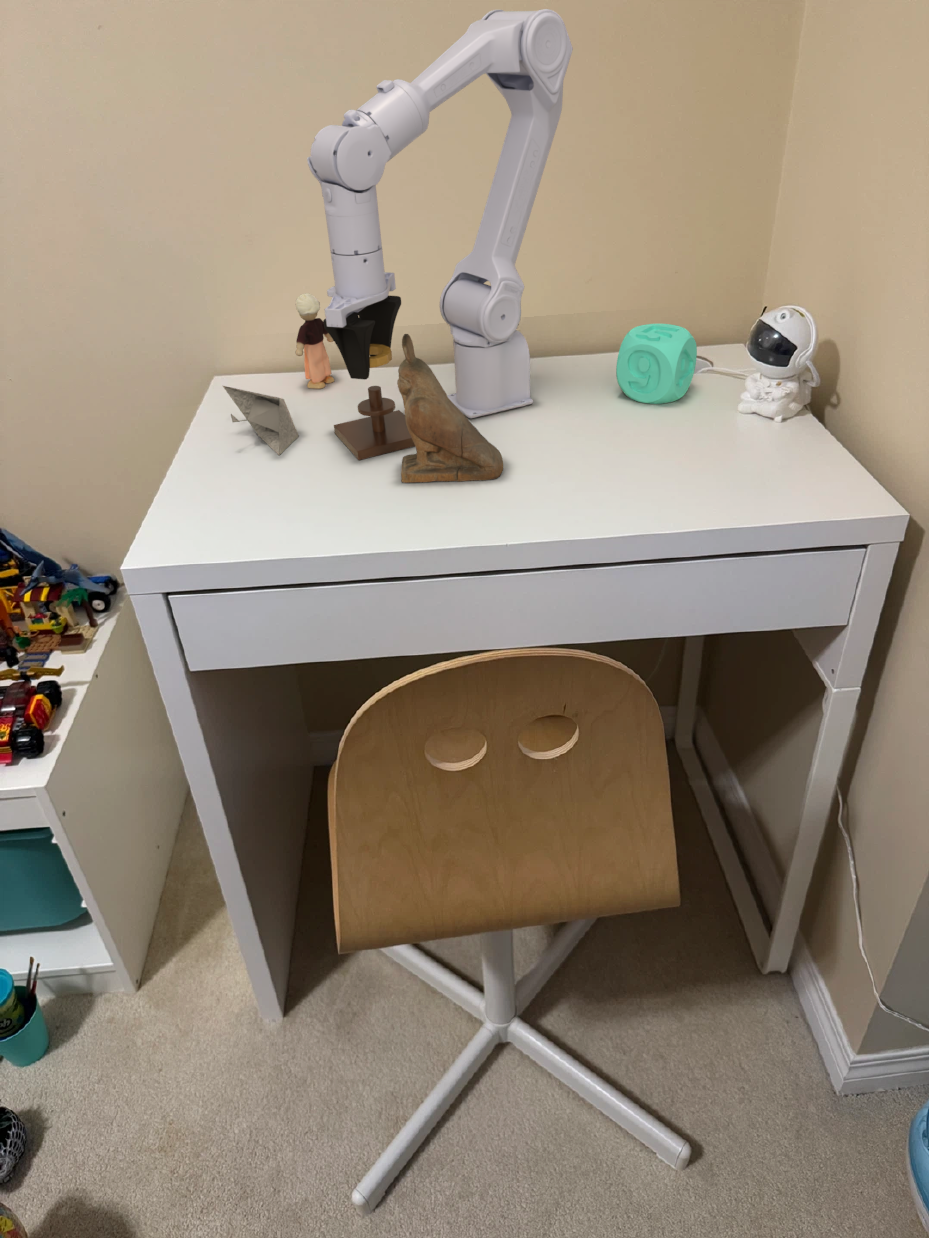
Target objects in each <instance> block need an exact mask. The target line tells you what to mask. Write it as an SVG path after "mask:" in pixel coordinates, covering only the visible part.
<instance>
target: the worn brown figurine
mask: <svg viewBox="0 0 929 1238" xmlns="http://www.w3.org/2000/svg"><path fill="white" fill-rule="evenodd" d="M401 348H402V352H403V355H404V359H403V360H402V362H401V363H400V364H399V366H398V370H397V372H398V379H397V382H396V384H397V388H398V391H399V394H400V395H401V398H402V403H403V408H404V411H403V414H404V415H405V421H406V425H407V429H408V431H409V433H410V435H411V437H412V440H413V442H414V444H415V446H414V447H415V450H416V451H415V452H416V453H413V454H412V453H411V454H406V455H404V456H402V460H401V469H400V470H401V471H400V477H401V479H400V480H401V483H406V484H408V483H409V484H410V483H423V484H424V483H432V482H444V483H445V482H448V483H449V482H457V483H459V482H468V481H470V482H471V481H473V482H475V481H488V480H496V479H498V478H500V476H501V475H502V474H503V471H504V459H503V456H502V453H501V452H500V450H499V449H498V448H497V447H496V446H495V445H494V444H492V443H491V442H489V441H488V439H487V438H486V437H485V436H484V435H482V433H481V432H480V431H479V430H478V429H477V428H476V427H475V426H474V424H472V422H471V420H469V418H468V417H467V416H466V415H464V414H463V413H462V412H461V411H460V410H459V409H458V408H457V407H456V406H455V405H454V404H453V403H452V401H451V400H450V399H449V398H448V397H447V395H448V394H447V392H446V391H445V389H444V388H443V386H442V385H441V383H440V381H439V379H438V378H437V376H436V375H435V373H434V371H433V370H432V368H431V367H430V366H429V364H427V362H425V360H423V359H421V358H419V357H416V353H415V349H414V348H415V347H414V344H413V340H412V338H411V336H410V335H409V333H404V334H403V336H402V338H401Z"/></svg>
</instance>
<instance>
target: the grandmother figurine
mask: <svg viewBox="0 0 929 1238" xmlns="http://www.w3.org/2000/svg"><path fill="white" fill-rule="evenodd" d="M295 309H296V310H297V312H298V315H299V317H300V318H301V319H302V320H304V323H303V324H302V325H301V326H300V327H299V329H298V332H297V337H296V349H295V355H296V356H297V357H302V356H303V355H304V359H303V360H304V377H305V379H306V380H309V381H308V382H307V384H306V387H307V389H314V390H315V389H316V390H321V389H324V388H326V386H327V384H331V383H334V382H335V378H334V377H333V376H332V373H333V372H332V368H331V362H330V357H329V355H328V353H327V349H326V346H325V343H324V337H325V339H326V341H327V342H328V343H333V342H334V340H333V339H332V337H331V336H330V335H329V333H328V332H327V331H326V330H325V328H324V322H323V319H322V318H320V317H317V316H318V314H319V313H318V312H320V309H321V303H320V301H319V298H317V297H316V296H314V295H313V294H312V293H309V292H308V293H302V294H300V295H299V296H298V297H297V298H296V300H295Z"/></svg>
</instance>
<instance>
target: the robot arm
mask: <svg viewBox="0 0 929 1238" xmlns="http://www.w3.org/2000/svg"><path fill="white" fill-rule="evenodd" d="M573 50H574V48H573V45H572V41H571V39H570V36H569V32H568V30H567V27H566V24H565V21H564V20H563V17H562V16H560V14H559V13H558V12H556V11H555V10H553V9H550V8H544V9H538V10H509V11H508V10H503V9H492V10H490V11H488V12H486V13H485V14H484V15H483V16H482V18H481V19H478V20H476V21H473V22H472V23H470V25H469V26H468V28H467V29H466V32H465V33H464V34H463V35H461V36H460V37H459V39H457V40H456V41H455V42H454V43H452V44H451V46H449V47H448V48H447V49H446V50H445V51H444V52H443V53H441V54H440V55H439V56H438V57H437V58H436V59H435V60H434V61H433V62H432V63H431V64H429V65H428V67H426V68H425V69H424V70H423V71H422V72H421V73H419V74H418V75H417V76H416V77H415V78H414V79H413V80H412V81H411V82H409V81H406V80H404V79H400V78H396V79H394V80H390V79H383V80H381V82H379V83H378V84H377V85H376V88H375V89H376V90H377V93H375V95H373V96H372V97H371V98H369V99H368V100H367V101H366V102H364V103H363V104H362V105H360V107H358V108H357V109H348V110H346V111H345V113H344V114H343V118H344V119H343V121H342V123H341V125H338V124H329V125H326V126H324V127H323V128H321V129H320V130H318V132H317V133H316V135H315V136H314V140H313V142H311V146H310V156H307V158H306V162H307V165H308V168H309V170H310V172H311V174H312V176H313V177H314V178H315V179H316V181H317V182H318V183H319V185H320V188H321V195H322V199H323V205H324V207H323V208H324V214H325V220H326V228H327V236H328V243H329V250H330V257H331V265H332V274H333V280H334V281H333V282H334V285H333V286H331V287H329V288H328V289H327V290H326V293H327V294H326V295H327V297H329V298H331V300H330V302H329V304H328V306H326V307H325V308H324V309H323V310H324V316H325V317H324V319H322V321H323V322H324V328H325V330H326V331H327V332H328V333H329V335H330V336H331V337H332V339H333V340H334V341H333V342H334V343H335V345H336V347H337V349H338V350H339V353H340V355H341V357H342V360H343V362H344V364H345V367H346V369H347V372H348V375H349V377H350V379H354V380H364V381H365V380H367V379H369V378H370V371H371V368H370V357H371V356H376V355H370V354H369V351H370V344H380V345H385V346H388V347H390V349H391V348H392V339H393V332H394V326H395V323H396V319H397V316H398V313H399V310H400V308H401V306H402V297H401V296H399V295H390V292H394V291H395V290H396V289H397V286H396V277H395V272H385V263H384V253H383V243H382V234H381V224H380V223H381V222H380V214H379V202H378V193H377V185H378V184H379V182H380V181H381V180H382V178H383V175H384V172H385V169H386V168H385V167H386V164H387V163H388V162H390V161H391V160H392V159H393V158H395V157H396V156H397V155H398V154H399V153H401V152H402V151H403V150H405V149H406V148H407V147H408V146H409V145H410V144H413V142H414V141H415V140H417V139H418V138H419V137H421V136H422V135H423V134H424V133H425V132H426V131H427V130H428V127H429V123H430V113H431V112H432V111H434V110H436V108H439V106H441V105H443V104H444V102H447V101H448V100H449V99H451V98H452V97H453V96H455V95H456V94H457V93H459V92H460V91H462V90H463V89H465V88H466V87H468V86H469V85H470V84H472V83H473V82H475V81H476V80H477V79H479V78H480V77H482V76H483V75H486V76H487V77H488V79H489V80H490V81H491V83H492V84H493V85H494V86H495V88H496V90H497V91H499V93H500V94H501V95H502V97H503V98H504V100H505V102H506V104H507V107H508V108H509V111H510V113H511V114H510V115H511V116H510V119H509V123H508V127H507V130H506V134H505V137H504V140H503V144H502V147H501V151H500V154H499V157H498V158H499V159H498V162H497V164H496V168H495V172H494V175H493V178H492V182H491V185H490V189H489V192H488V196H487V199H486V203H485V207H484V210H483V213H482V217H481V221H480V223H479V227H478V230H477V234H476V237H475V240H474V245H473V248H472V250H471V252H470V253H469V254H467V255H466V256H464V257H463V258H462V259H461V260H459V261H458V262H457V263H456V264H455V267H454V270H453V273H452V276H451V278H450V280H449V281H448V282H447V283H446V285H445V286H444V288H443V289H442V292H441V294H440V298H439V312H440V316H441V317H442V320H443V321H444V322H445V323H446V324H447V325H448V326H449V329H450V335H451V336H452V344H453V345H452V346H453V347H452V348H453V363H454V378H455V379H454V380H455V381H454V382H455V393H450V394H447V397H448V398H449V399H450V400H451V401H452V403H453V404H454V405H455V406H456V407H457V408H458V409H459V410H460V411H461V412H462V413H463V415H464V416H465V417H466V418H467V419H474V418H479V417H484V416H488V415H492V414H497V413H500V412H504V411H508V410H513V409H516V408H520V407H525V406H529V405H532V404H533V403H534V399H532V398H531V353H530V349H529V345H528V341H527V339H526V337H525V335H524V334H523V333H522V332H521V331H519V330H517V329H518V328H519V324H520V322H521V317H522V297H523V294H524V293H523V292H524V290H525V284H524V282H523V279H522V278H521V276H520V274H519V272H518V270H517V267H516V262H517V260H518V256H519V252H520V249H521V246H522V243H523V239H524V237H525V233H526V230H527V226H528V223H529V220H530V217H531V213H532V210H533V207H534V203H535V200H536V197H537V195H538V191H539V189H540V188H539V187H540V184H541V180H542V177H543V175H544V172H545V168H546V164H547V162H548V158H549V155H550V151H551V148H552V144H553V142H554V138H555V135H556V131H557V129H558V125H559V122H560V120H561V119H560V118H561V115H562V110H563V96H564V80H565V78H566V74H567V70H568V67H569V64H570V60H571V57H572V54H573ZM487 282H489V284H486V283H487ZM391 350H392V349H391Z"/></svg>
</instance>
